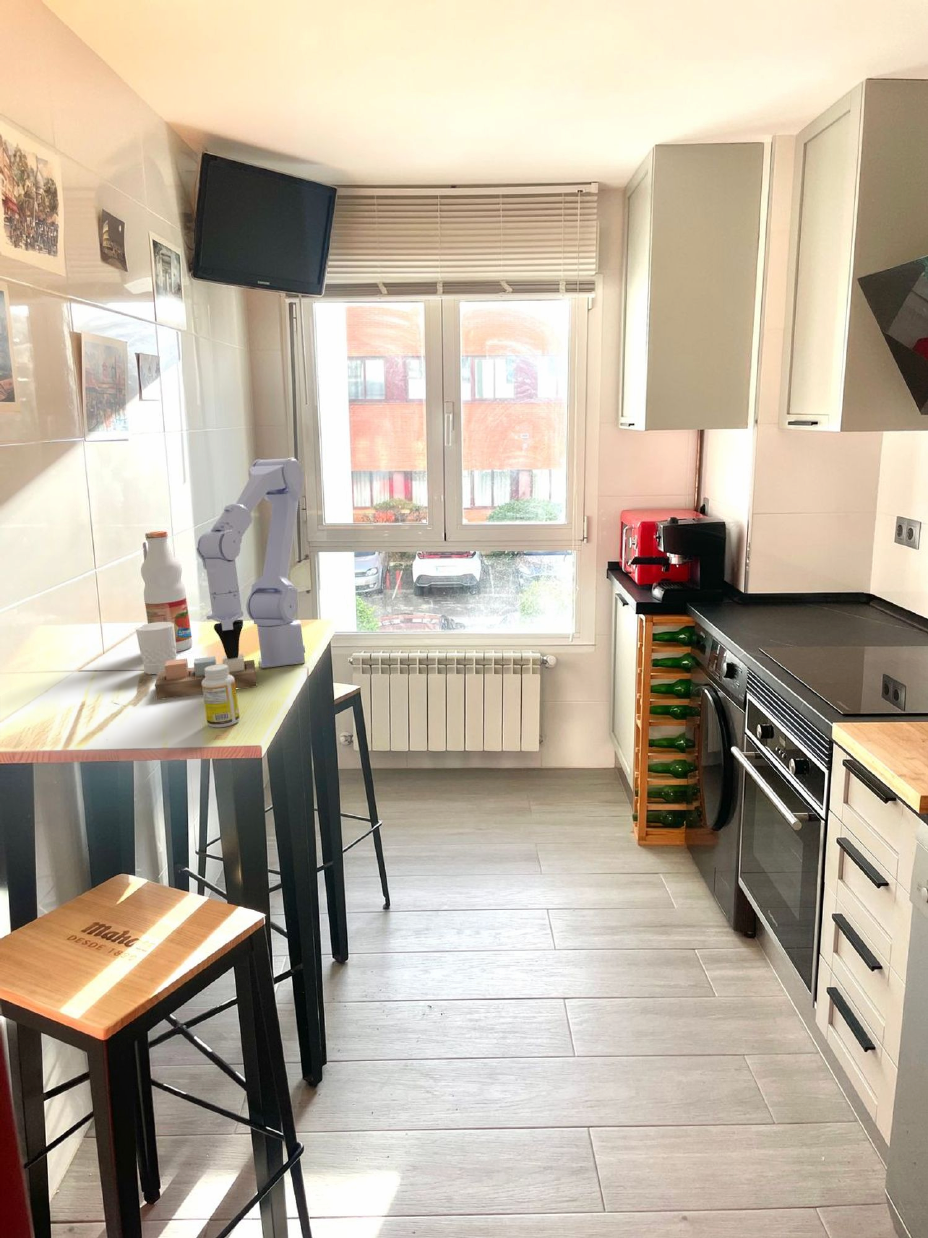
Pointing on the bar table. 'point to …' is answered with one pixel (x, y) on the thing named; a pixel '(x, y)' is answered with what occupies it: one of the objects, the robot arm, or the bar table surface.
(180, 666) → the salmon orange cube
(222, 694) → the supplement bottle
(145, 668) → the white cup
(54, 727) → the bar table surface
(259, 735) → the bar table surface
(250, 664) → the wooden tray
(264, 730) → the bar table surface
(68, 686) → the bar table surface
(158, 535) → the fruit juice
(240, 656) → the off-white cube
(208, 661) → the light blue cube
